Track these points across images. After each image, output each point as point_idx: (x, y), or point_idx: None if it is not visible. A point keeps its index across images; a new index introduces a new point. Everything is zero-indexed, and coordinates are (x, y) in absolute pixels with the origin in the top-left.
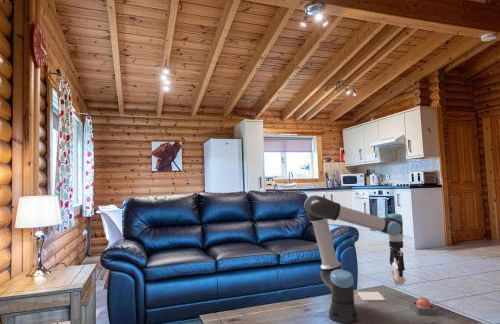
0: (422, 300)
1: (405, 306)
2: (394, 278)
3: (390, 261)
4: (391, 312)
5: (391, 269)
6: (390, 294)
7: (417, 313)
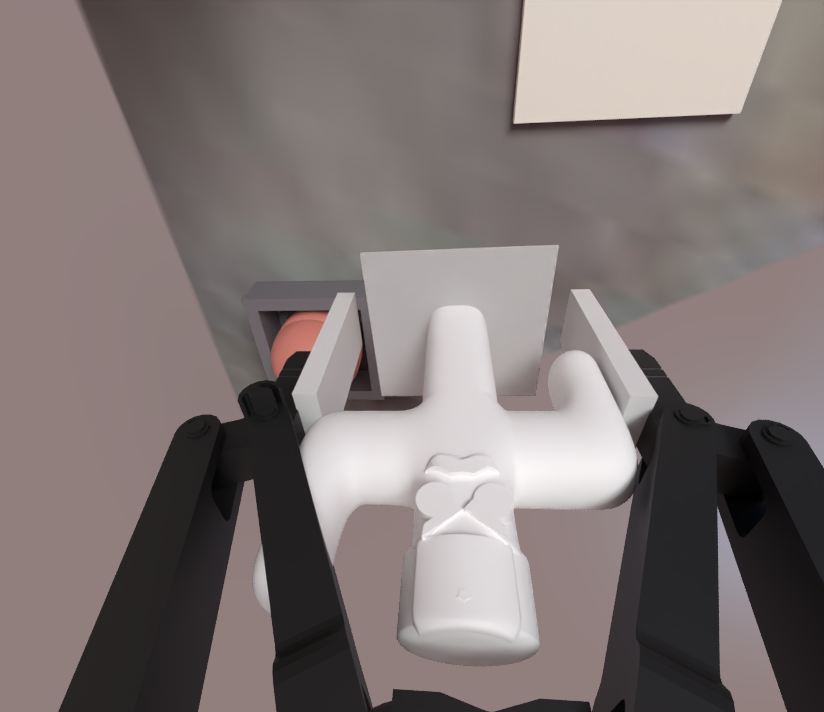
0: (280, 365)
1: (387, 251)
2: (408, 282)
3: (760, 459)
4: (245, 88)
5: (621, 349)
6: (650, 223)
7: (270, 282)
